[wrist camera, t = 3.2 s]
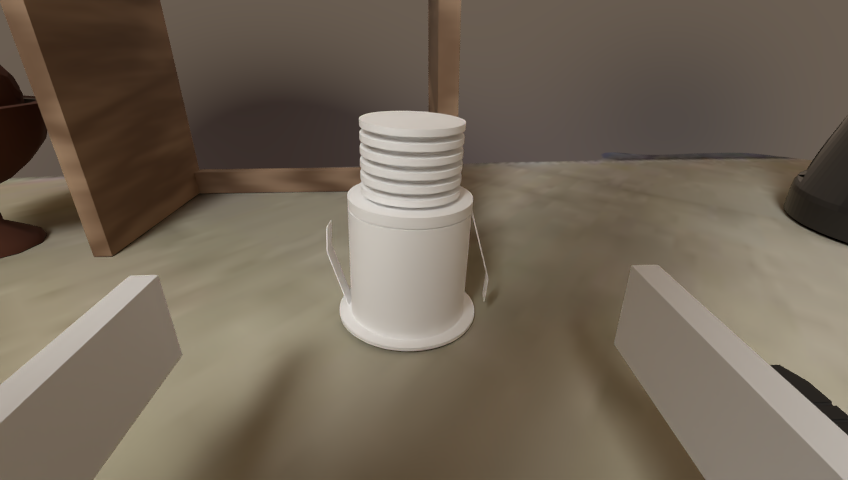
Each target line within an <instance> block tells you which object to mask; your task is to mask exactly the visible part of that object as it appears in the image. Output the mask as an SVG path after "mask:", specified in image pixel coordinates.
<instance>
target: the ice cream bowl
mask: <svg viewBox="0 0 848 480" xmlns="http://www.w3.org/2000/svg"><path fill="white" fill-rule="evenodd" d="M46 135H47V128H46V125H45V122H44V120H43V117H42V114H41V111H40V109H39V106H38V103H37V101H36V98H35V96H23V94H22V92H21V90H20V88H19V86H18V84H17V82H16V81H15V79H14V77H13V76H12V75H11V74H10V73H9V72H7V71H6V70H5V69H4V68H3V67H2V66H1V65H0V183H2V182H4V181H6V180H8V179H10V178H11V177H13V176H14V175H15V174H16V173H17V172H18V171H19V170H20V169H21V168H23V166H25V165H26V164H27V163H28V162H29V161H30V160H31V159H32V158H33V156H34V155H35V153H36V152H37V151H38V149H39V148H40V146H41V145H42V143H43V142H44V140H45V139H46ZM46 235H47V233H46V232H45V231H44V230H43V229H42V228H41V227H37V226H33V225H30V224H25V223H20V222H14V221H9V220H4V219H3V217H2V215H1V213H0V258H2V257H6V256H10V255H13V254H17V253H21V252H23V251H25V250H27V249H29V248H31V247H33V246H35V245H37V244H40V243H42V242H43V240H44V238H45V236H46Z"/></svg>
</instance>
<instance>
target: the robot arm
mask: <svg viewBox="0 0 848 480" xmlns="http://www.w3.org/2000/svg"><path fill="white" fill-rule="evenodd" d="M784 209H785V211H786V212H787V213H788V214H789V215H790V216H791V217H792V218H794V219H795V220H797V221H798V222H800V223H802V224H803V225H805V226H807V227H809V228H811V229H813V230H816V231H818V232H820V233H822V234H825V235H827V236H830V237H833V238H835V239H838V240H841V241H844V242H846V243H848V115H847V116H846V118H845V119H844V120H843V122H842V123H841V124H840V125H839V127H838V128H837V129H836V130H835V131H834V133H833V134H832V135H831V137H830V138H829V139H828V140H827V142H826V143H825V144H824V145H823V147H822V148H821V149H820V151H819V152H818V154H817V155H816V156H815V158H814V159H813V161H812V162H811V164H810V166H809V167H808V169H807V170H805V171H803V172H801V173H799V174H798V176H797V177H796V178H795V179H794V181H793V183H792V185H791V187H790V190H789V193H788V195H787V198H786V201H785V203H784ZM614 345H615V347H616V348H617V350H618V351H619V352H620V354H621V355H622V357H623V358H624V360H625V361H626V363H627V364H628V366H629V367H630V369H631V370H632V372H633V373H634V375H635V376H636V378H637V379H638V381H639V382H640V384H641V385H642V387H643V388H644V390H645V391H646V392H647V394H648V395H649V397H650V398H651V400H652V401H653V403H654V404H655V406H656V407H657V409H658V410H659V412H660V413H661V415H662V416H663V418H664V419H665V421H666V422H667V424H668V425H669V427H670V428H671V429H672V431H673V432H674V434H675V435H676V437H677V438H678V440H679V441H680V443H681V444H682V446H683V447H684V449H685V450H686V452H687V453H688V455H689V456H690V458H691V459H692V461H693V462H694V464H695V465H696V467H697V468H698V469H699V471H700V472H701V474H702V475H703V477H704V478H705V480H848V415H847V414H846V413H844V412H843V411H842V410H841V409H840V408H839V407H837V406H833V405H832V401H830V400H829V399H828V398H827V397H826V396H825V395H823V394H822V393H821V392H820V391H819V390H818V389H816V388H815V387H814V386H813V385H812V384H810V383H809V382H808V381H806V380H805V379H803V378H801V377H799V376H798V375H796V374H794V373H792V372H791V371H789V370H787V369H785V368H784V367H782V366H780V365H769V364H768V363H767V362H766V361H765V360H764V359H762V358H761V357H760V356H759V355H758V354H757V353H756V352H755V351H754V350H752V349H751V348H750V347H749V346H748V345H747V344H746V343H745V342H744V341H742V340H741V339H740V338H739V337H738V336H737V335H736V334H735V333H734V332H732V331H731V330H730V329H729V328H728V327H727V326H726V325H725V324H724V323H722V322H721V321H720V320H719V319H718V318H717V317H716V316H715V315H714V314H712V313H711V312H710V311H709V310H708V309H707V308H706V307H705V306H704V305H702V304H701V303H700V302H699V301H698V300H697V299H696V298H695V297H694V296H692V295H691V294H690V293H689V292H688V291H687V290H686V289H685V288H684V287H682V286H681V285H680V284H679V283H678V282H677V281H676V280H675V279H674V278H672V277H671V276H670V275H669V274H668V273H667V272H666V271H665V270H663V269H662V268H661V267H660V266H659V265H631V269H630V273H629V278H628V282H627V287H626V291H625V296H624V300H623V305H622V309H621V314H620V318H619V323H618V327H617V331H616V336H615V340H614ZM181 356H182V352H181V348H180V345H179V342H178V339H177V335H176V332H175V329H174V325H173V322H172V319H171V316H170V312H169V309H168V306H167V302H166V299H165V296H164V293H163V289H162V286H161V283H160V279H159V276H158V275H134V276H129V277H127V278H126V279H125V280H124V281H123V282H121V283H120V284H119V285H118V286H117V287H116V288H114V289H113V290H112V291H111V292H110V293H108V294H107V295H106V296H105V297H104V298H103V299H101V300H100V301H99V302H98V303H97V304H95V305H94V306H93V307H92V308H91V309H90V310H88V311H87V312H86V313H85V314H84V315H82V316H81V317H80V318H79V319H78V320H76V321H75V322H74V323H73V324H72V325H71V326H69V327H68V328H67V329H66V330H65V331H63V332H62V333H61V334H60V335H59V336H58V337H56V338H55V339H54V340H53V341H52V342H50V343H49V344H48V345H47V346H46V347H45V348H43V349H42V350H41V351H40V352H39V353H37V354H36V355H35V356H34V357H33V358H31V359H30V360H29V361H28V362H27V363H26V364H24V365H23V366H22V367H21V368H20V369H18V370H17V371H16V372H15V373H14V374H13V375H11V376H10V377H9V378H8V379H7V380H5V381H4V382H3V383H2V384H1V385H0V480H93V479H94V478H95V476H96V475H97V474H98V472H99V471H100V469H101V468H102V467H103V465H104V464H105V462H106V461H107V460H108V458H109V457H110V455H111V454H112V453H113V451H114V450H115V448H116V447H117V446H118V444H119V443H120V441H121V440H122V439H123V437H124V436H125V435H126V433H127V432H128V430H129V429H130V428H131V426H132V425H133V423H134V422H135V421H136V419H137V418H138V416H139V415H140V414H141V412H142V411H143V409H144V408H145V407H146V405H147V404H148V402H149V401H150V400H151V398H152V397H153V395H154V394H155V393H156V391H157V390H158V389H159V387H160V386H161V384H162V383H163V382H164V380H165V379H166V377H167V376H168V375H169V373H170V372H171V370H172V369H173V368H174V366H175V365H176V363H177V362H178V361H179V359H180V358H181Z"/></svg>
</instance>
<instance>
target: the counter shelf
mask: <svg viewBox="0 0 848 480" xmlns="http://www.w3.org/2000/svg"><path fill="white" fill-rule="evenodd" d="M0 3H1V5H2V8H3V11H4V13H5V16H6V19H7V22H8V24H9V27H10V30H11V33H12V35H13V38H14V41H15V43H16V46H17V49H18V52H19V54H20V57H21V60H22V63H23V65H24V68H25V70H26V73H27V76H28V79H29V82H30V84H31V87H32V89H33V92H34V95H35V98H36V101H37V103H38V106H39V109H40V111H41V114H42V117H43V120H44V122H45V125H46V128H47V130H48V133H49V136H50V139H51V141H52V144H53V146H54V149H55V152H56V154H57V158H58V160H59V163H60V166H61V168H62V171H63V174H64V177H65V179H66V182H67V185H68V187H69V190H70V193H71V196H72V198H73V201H74V204H75V206H76V209H77V212H78V215H79V217H80V220H81V223H82V225H83V228H84V231H85V234H86V236H87V239H88V242H89V244H90V247H91V250H92V253H93V255H94V257H99V256H113V255H115V254H116V253H118V252H119V251H120V250H122V249H123V248H124V247H126V246H127V245H129V244H130V243H131V242H133V241H134V240H135V239H137V238H138V237H140V236H141V235H142V234H144V233H145V232H146V231H148V230H149V229H151V228H152V227H153V226H155V225H156V224H157V223H159V222H160V221H162V220H163V219H164V218H166V217H167V216H169V215H170V214H171V213H173V212H174V211H175V210H177V209H178V208H180V207H181V206H182V205H184V204H185V203H186V202H188V201H189V200H191V199H192V198H193V197H195V196H196V195H197V194H199V193H251V192H319V191H349V190H350V189H351V188H352V187H353V186H355V185H357V184H359V183H361V179H360V170H361V167H353V168H278V169H204V170H199V167H198V163H197V158H196V154H195V150H194V145H193V142H192V137H191V133H190V128H189V124H188V120H187V115H186V111H185V107H184V102H183V98H182V93H181V90H180V85H179V80H178V76H177V72H176V67H175V63H174V59H173V55H172V50H171V46H170V41H169V37H168V33H167V28H166V24H165V20H164V15H163V11H162V7H161V3H160V0H0ZM460 22H461V0H429V112H432V113H440V114H447V115H452V116H456V117H458V96H459V61H460Z"/></svg>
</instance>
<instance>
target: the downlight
mask: <svg viewBox="0 0 848 480" xmlns="http://www.w3.org/2000/svg"><path fill="white" fill-rule="evenodd" d="M359 126H360V127H361V128H362V129H361V130H360V131H359V139H360V141H361V142H362V143H360V154H361V155H362V156H361V157H360V167H361V170H360V179H361V183H359V184H357V185H355V186H353V187H352V188H351V189H350V190H349V191H348V194H347V200H348V226H349V252H350V279H351V288H350V289H349V287H348V284H347V281H346V279H345V276H344V274H343V271H342V269H341V266H340V264H339V261H338V259H337V256H336V254H335V251H334V248H333V246H332V220H331V221H330V222H329V224H328V225H327V227H326V241H327V254H328V257H329V259H330V262H331V264H332V267H333V269H334V272H335V274H336V277H337V279H338V281H339V284H340V286H341V289H342V291H343V294H344V296H343V298H342V300H341V303H340V317H341V320H342V323H343V324H344V326H345V327H346V329H347V330H348V331H349V332H350V333H351V334H353V335H354V336H355V337H357V338H358V339H360V340H362V341H364V342H366V343H368V344H371V345H373V346H376V347H380V348H384V349H389V350H396V351H421V350H428V349H433V348H437V347H440V346H443V345H446V344H448V343H451V342H453V341H454V340H456V339H458V338H459V337H461V336H462V335H463V334H464V333H465V332H466V331H467V330H468V329H469V327H470V326H471V324H472V322H473V318H474V305H473V302H472V300H471V298H470V297H469V295H468V294H467V293H466V292H465V281H466V270H467V260H468V249H469V239H470V228H471V218H472V217H473V221H474V225H475V229H476V233H477V238H478V242H479V246H480V250H481V254H482V258H483V263H484V267H485V271H486V274H485V280H484V286H483V292H482V293H483V300H484V302H485V296H486V290H487V284H488V274H487V269H486V264H485V260H484V256H483V252H482V248H481V243H480V239H479V235H478V231H477V227H476V222H475V218H474V214H473V210H472V207H473V196H472V194H471V193H470V192H469V191H468V190H467V189H465V188H463V187H462V186H460V184H461V177H462V174H461V171H462V165H463V161H462V158H463V151H464V148H463V147H462V145H464V139H465V135H464V134H463V133H462V132H464V131H465V127H466V121H465V120H464V119H462V118H459V117H456V116H452V115H447V114H440V113H432V112H420V111H383V112H374V113H368V114H364V115H362V116H360V117H359Z"/></svg>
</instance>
